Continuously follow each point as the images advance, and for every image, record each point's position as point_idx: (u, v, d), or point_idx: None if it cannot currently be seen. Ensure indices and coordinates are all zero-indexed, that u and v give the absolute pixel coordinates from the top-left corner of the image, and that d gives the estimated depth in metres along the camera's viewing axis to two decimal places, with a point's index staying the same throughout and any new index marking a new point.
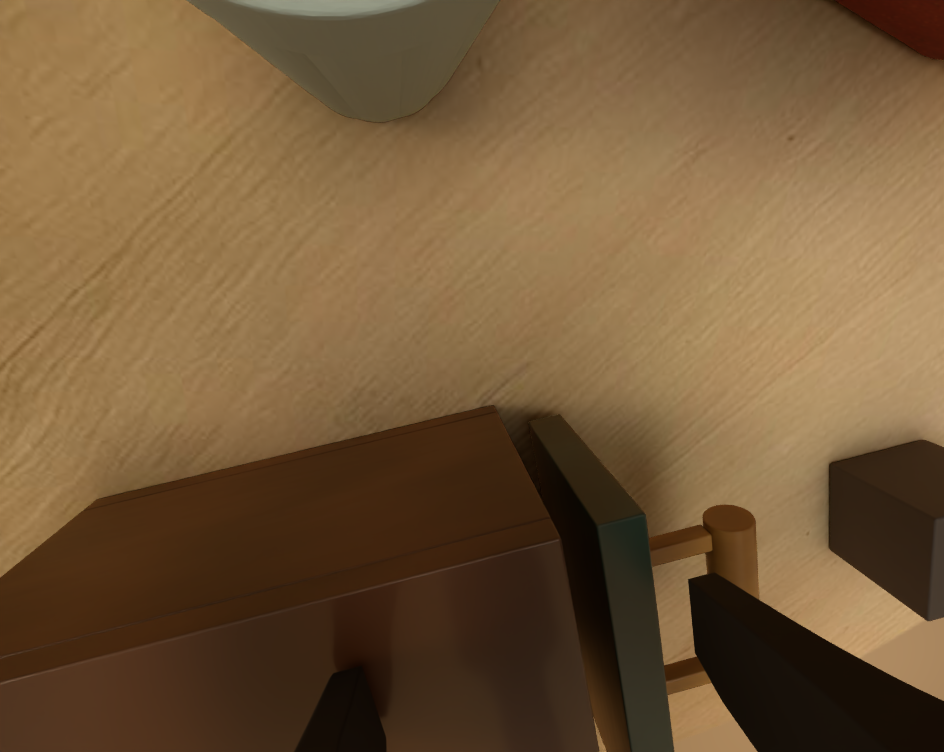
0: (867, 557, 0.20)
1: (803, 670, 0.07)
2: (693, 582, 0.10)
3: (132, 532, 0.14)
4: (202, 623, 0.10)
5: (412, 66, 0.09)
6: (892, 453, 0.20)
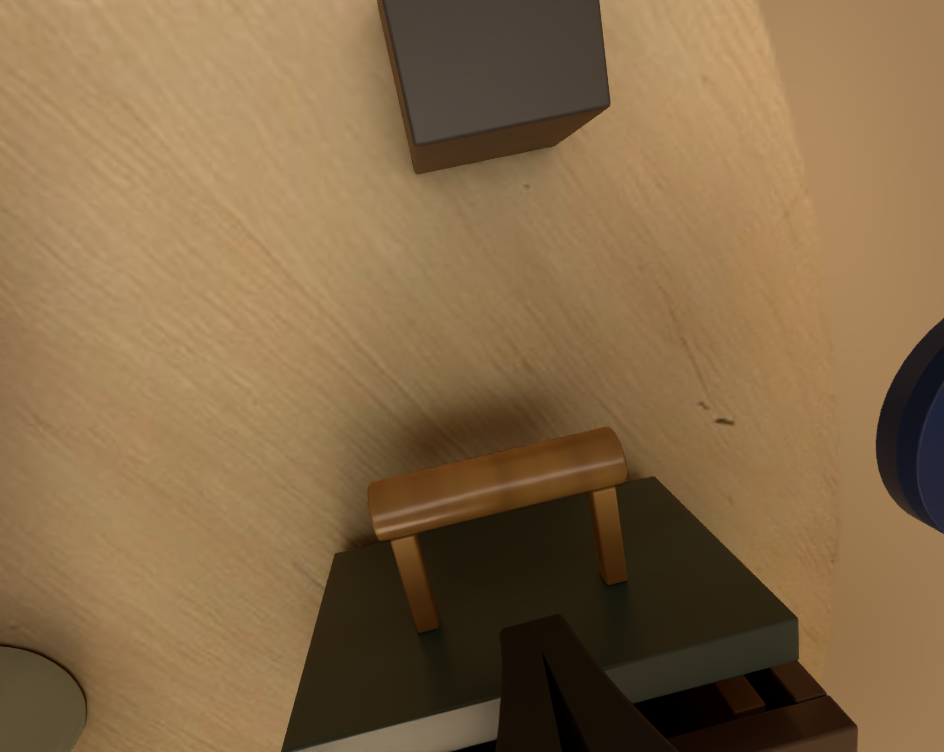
0: (540, 139, 0.13)
1: (586, 731, 0.07)
2: (532, 624, 0.10)
3: None
4: None
5: None
6: (394, 79, 0.13)
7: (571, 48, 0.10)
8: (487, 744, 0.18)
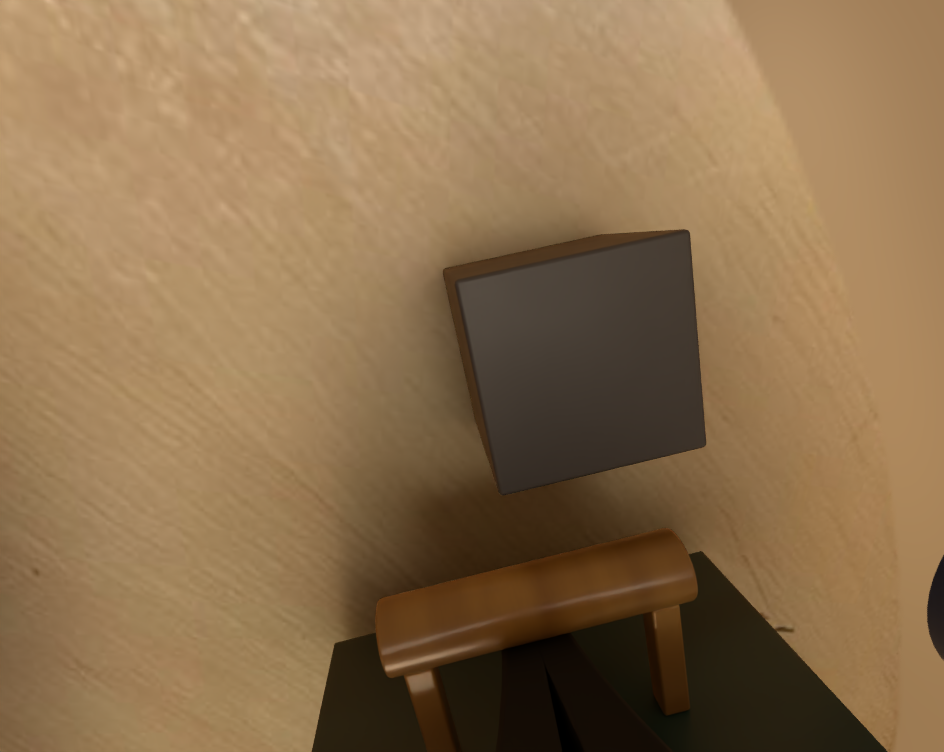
0: None
1: (582, 732, 0.07)
2: None
3: None
4: None
5: None
6: (458, 343, 0.13)
7: (668, 399, 0.10)
8: None
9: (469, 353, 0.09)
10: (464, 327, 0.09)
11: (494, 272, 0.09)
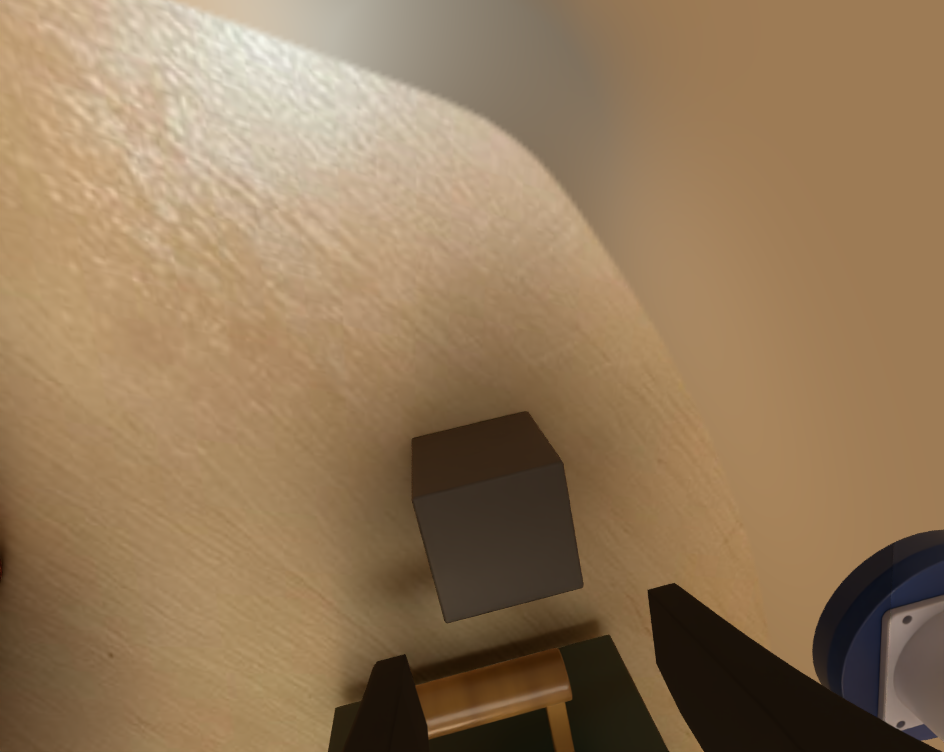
0: None
1: (747, 686, 0.07)
2: (651, 593, 0.10)
3: None
4: None
5: None
6: None
7: (555, 560, 0.15)
8: None
9: (422, 538, 0.14)
10: (418, 524, 0.14)
11: (437, 492, 0.14)
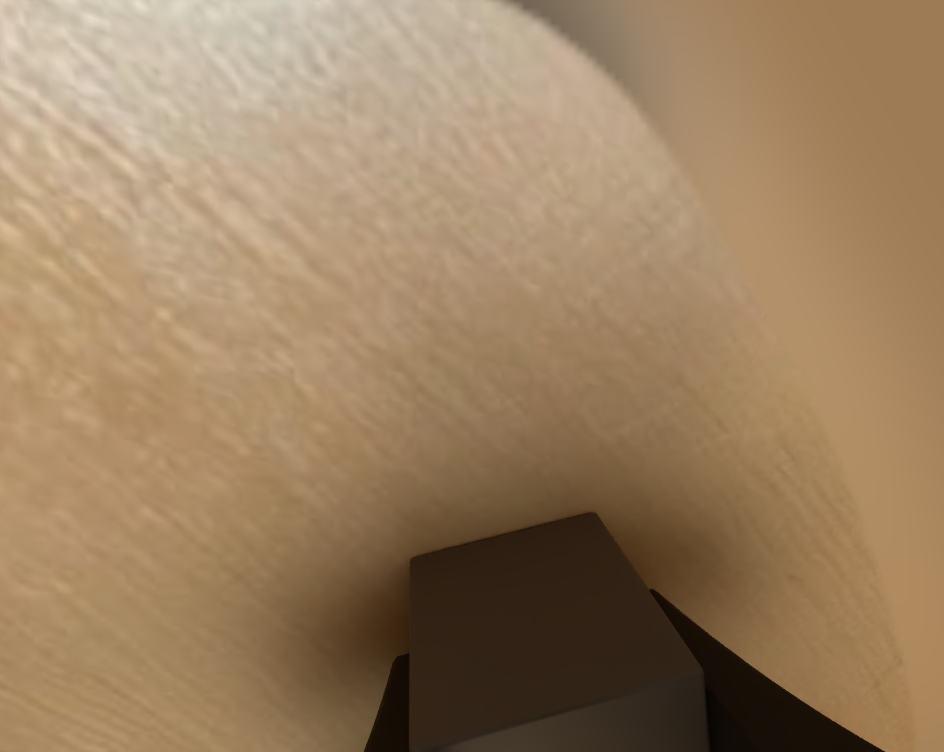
0: None
1: (717, 694, 0.07)
2: None
3: None
4: None
5: None
6: None
7: None
8: None
9: None
10: None
11: (459, 736, 0.07)
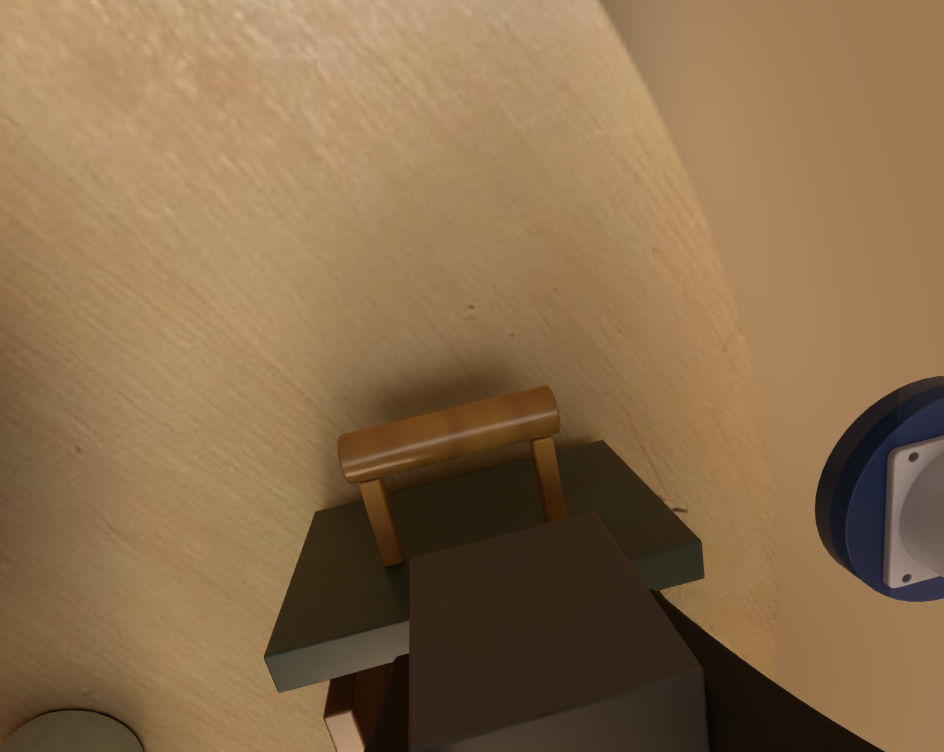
0: None
1: (717, 694, 0.07)
2: None
3: None
4: None
5: None
6: None
7: None
8: None
9: None
10: None
11: (459, 735, 0.07)
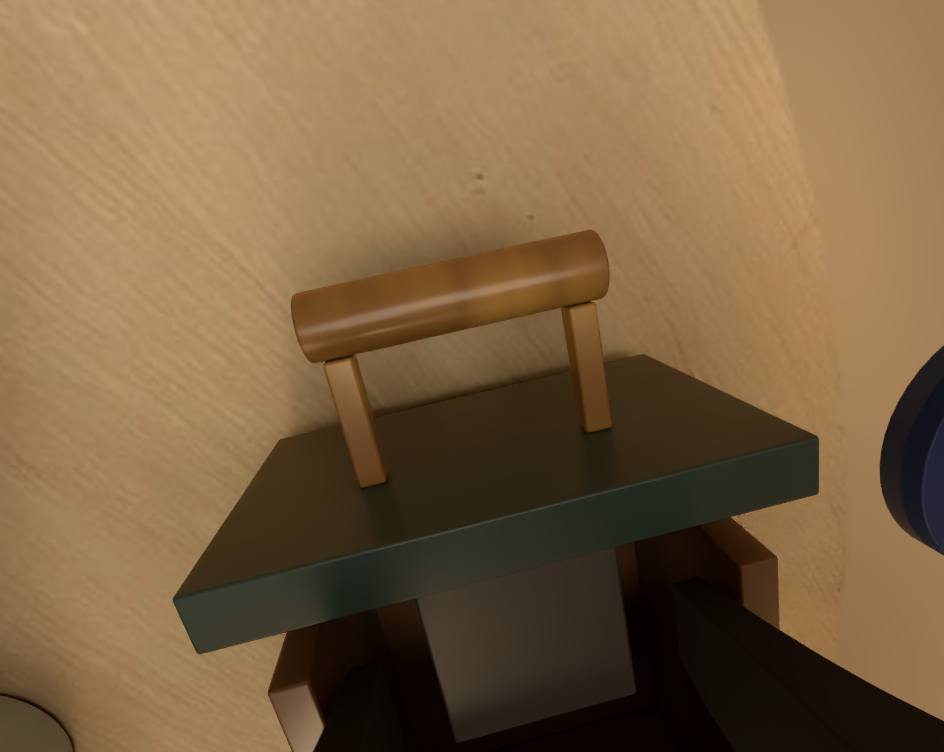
0: None
1: (781, 676, 0.07)
2: (676, 587, 0.10)
3: None
4: None
5: None
6: None
7: (601, 662, 0.11)
8: None
9: (426, 638, 0.10)
10: (421, 621, 0.10)
11: None
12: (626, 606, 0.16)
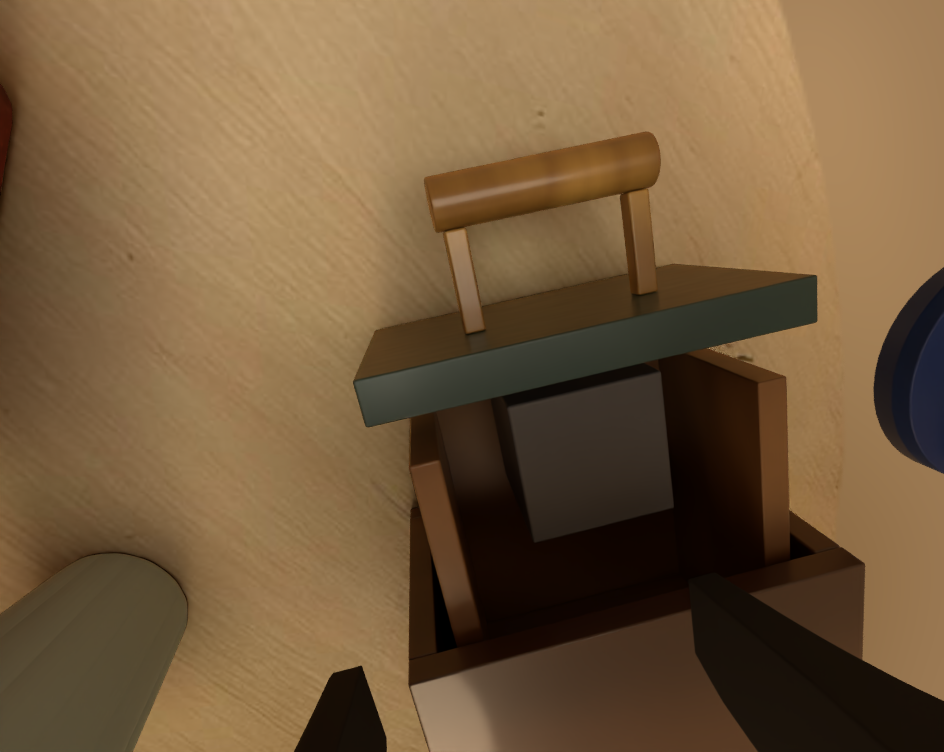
0: None
1: (803, 670, 0.07)
2: (693, 582, 0.10)
3: None
4: None
5: (94, 739, 0.14)
6: (496, 421, 0.17)
7: (648, 478, 0.14)
8: (516, 528, 0.19)
9: (515, 451, 0.14)
10: (512, 435, 0.13)
11: (533, 401, 0.13)
12: None
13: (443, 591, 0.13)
